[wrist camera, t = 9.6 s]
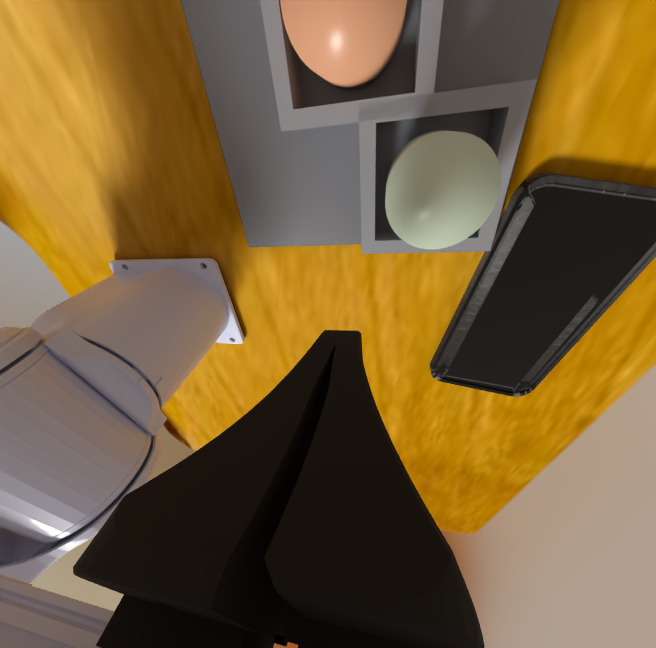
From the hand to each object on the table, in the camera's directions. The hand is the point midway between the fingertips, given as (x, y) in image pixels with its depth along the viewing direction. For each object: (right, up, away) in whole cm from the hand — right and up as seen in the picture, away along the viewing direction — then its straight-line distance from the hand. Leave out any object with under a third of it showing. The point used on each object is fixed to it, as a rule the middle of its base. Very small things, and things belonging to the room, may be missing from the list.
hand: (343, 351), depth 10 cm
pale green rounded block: (+4, +8, +3) cm, 9 cm away
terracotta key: (0, +13, +1) cm, 13 cm away
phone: (+12, +2, +8) cm, 15 cm away
